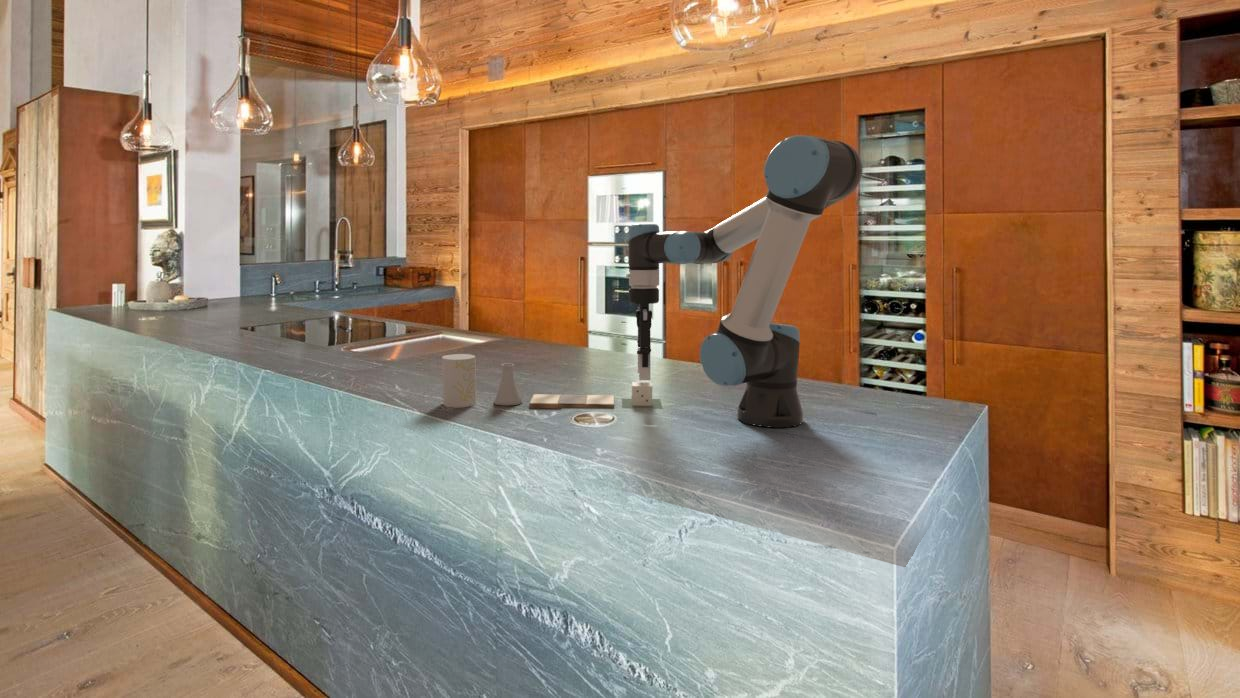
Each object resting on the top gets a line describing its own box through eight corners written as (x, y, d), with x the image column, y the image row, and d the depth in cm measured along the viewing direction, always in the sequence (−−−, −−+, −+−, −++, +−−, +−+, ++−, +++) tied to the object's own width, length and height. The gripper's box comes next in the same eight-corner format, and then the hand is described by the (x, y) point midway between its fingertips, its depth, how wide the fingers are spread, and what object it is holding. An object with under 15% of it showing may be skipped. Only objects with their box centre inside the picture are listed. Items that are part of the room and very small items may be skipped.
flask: (519, 406, 173) (519, 367, 172) (490, 406, 173) (490, 367, 172) (524, 400, 180) (524, 362, 179) (496, 399, 181) (496, 361, 179)
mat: (659, 400, 182) (659, 398, 182) (662, 409, 173) (662, 408, 173) (621, 399, 182) (621, 398, 182) (622, 409, 172) (622, 407, 172)
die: (650, 401, 180) (651, 381, 179) (652, 405, 175) (652, 386, 174) (631, 400, 180) (631, 381, 179) (631, 405, 175) (632, 385, 174)
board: (613, 399, 182) (614, 395, 182) (614, 408, 172) (614, 404, 172) (533, 398, 182) (533, 394, 182) (529, 407, 172) (529, 403, 172)
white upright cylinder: (457, 409, 170) (456, 360, 168) (436, 404, 175) (435, 357, 173) (483, 403, 176) (482, 356, 174) (461, 398, 181) (460, 352, 179)
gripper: (627, 285, 183) (628, 369, 187) (629, 289, 162) (630, 384, 165) (656, 284, 183) (655, 368, 187) (662, 289, 162) (661, 384, 165)
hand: (643, 376), depth 176 cm, fingers open, 9 cm apart
